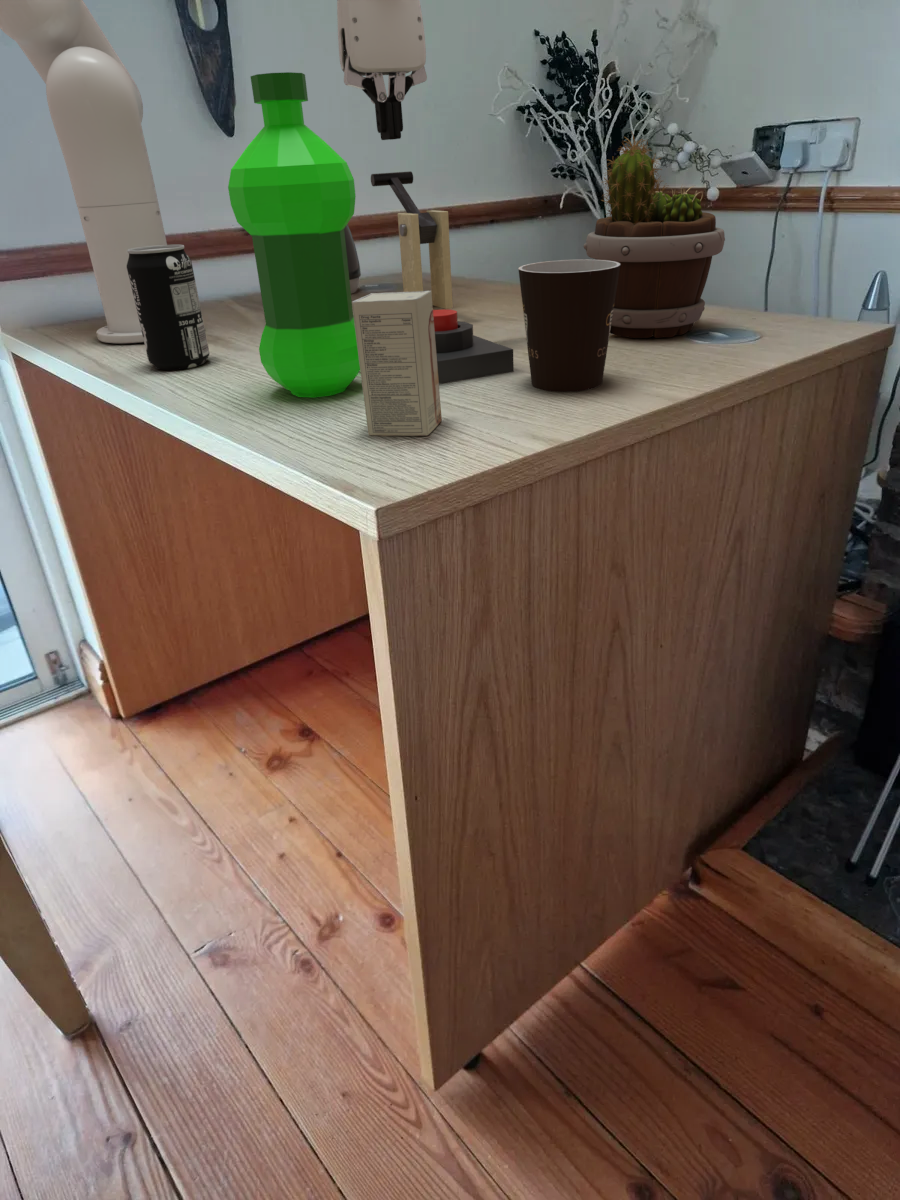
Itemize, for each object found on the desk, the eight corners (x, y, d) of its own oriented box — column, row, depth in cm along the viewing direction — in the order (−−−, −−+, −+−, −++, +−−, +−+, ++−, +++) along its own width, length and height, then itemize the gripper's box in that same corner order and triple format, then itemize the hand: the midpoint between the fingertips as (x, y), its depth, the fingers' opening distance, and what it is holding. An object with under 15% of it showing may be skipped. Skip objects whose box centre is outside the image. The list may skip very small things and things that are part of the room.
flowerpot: (666, 313, 100) (681, 128, 90) (742, 334, 87) (769, 121, 77) (561, 326, 96) (564, 135, 86) (624, 350, 83) (636, 128, 73)
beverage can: (147, 363, 90) (120, 248, 84) (206, 355, 92) (184, 242, 86) (153, 374, 85) (124, 252, 79) (215, 365, 87) (191, 246, 81)
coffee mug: (591, 400, 67) (596, 273, 62) (502, 390, 72) (500, 271, 67) (640, 369, 76) (647, 255, 71) (558, 362, 80) (559, 255, 75)
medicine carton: (443, 421, 64) (435, 289, 59) (428, 438, 61) (419, 299, 56) (382, 419, 66) (370, 290, 61) (364, 436, 62) (349, 300, 57)
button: (416, 330, 80) (414, 312, 79) (448, 326, 81) (447, 308, 80) (430, 336, 77) (429, 317, 76) (464, 331, 78) (463, 312, 77)
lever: (369, 186, 105) (371, 168, 103) (408, 183, 107) (410, 165, 105) (406, 245, 99) (408, 227, 97) (446, 241, 101) (449, 224, 99)
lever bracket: (387, 318, 107) (378, 213, 101) (441, 311, 110) (435, 208, 104) (416, 329, 99) (408, 216, 93) (473, 321, 102) (469, 211, 96)
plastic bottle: (385, 396, 72) (354, 66, 60) (268, 411, 70) (211, 70, 57) (363, 372, 80) (333, 79, 68) (258, 385, 78) (207, 83, 66)
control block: (375, 364, 84) (371, 324, 82) (460, 350, 87) (458, 312, 85) (419, 388, 74) (416, 343, 72) (513, 372, 77) (513, 329, 76)
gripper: (421, -33, 99) (432, 137, 108) (305, -35, 94) (326, 144, 103) (446, -47, 93) (455, 134, 102) (324, -50, 88) (345, 141, 97)
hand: (391, 138), depth 102 cm, fingers closed
